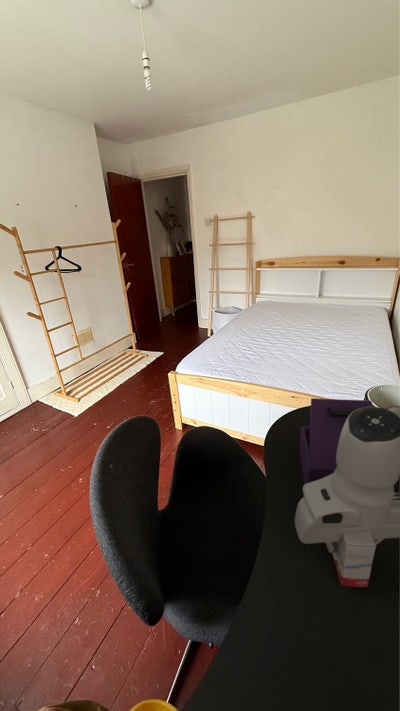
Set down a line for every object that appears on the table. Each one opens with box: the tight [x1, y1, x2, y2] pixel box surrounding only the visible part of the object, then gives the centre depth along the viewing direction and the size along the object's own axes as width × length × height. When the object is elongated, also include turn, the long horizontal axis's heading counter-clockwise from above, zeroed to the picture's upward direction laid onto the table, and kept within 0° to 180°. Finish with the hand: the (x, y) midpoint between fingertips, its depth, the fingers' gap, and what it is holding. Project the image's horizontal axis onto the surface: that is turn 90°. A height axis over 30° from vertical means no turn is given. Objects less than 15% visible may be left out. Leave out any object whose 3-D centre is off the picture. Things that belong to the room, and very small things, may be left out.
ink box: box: [332, 532, 377, 588], centre depth 55 cm, size 9×5×12 cm, turn 171°
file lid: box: [309, 397, 373, 470], centre depth 65 cm, size 16×13×5 cm
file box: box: [298, 425, 335, 485], centre depth 77 cm, size 16×13×9 cm
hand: (349, 547), depth 56 cm, fingers closed on ink box, 5 cm apart
